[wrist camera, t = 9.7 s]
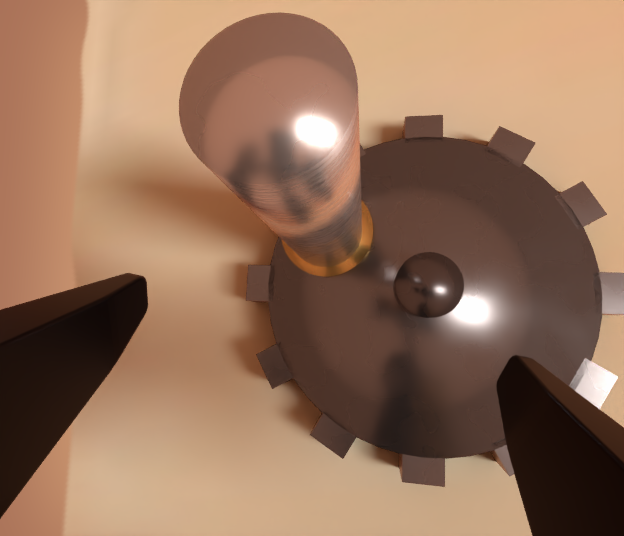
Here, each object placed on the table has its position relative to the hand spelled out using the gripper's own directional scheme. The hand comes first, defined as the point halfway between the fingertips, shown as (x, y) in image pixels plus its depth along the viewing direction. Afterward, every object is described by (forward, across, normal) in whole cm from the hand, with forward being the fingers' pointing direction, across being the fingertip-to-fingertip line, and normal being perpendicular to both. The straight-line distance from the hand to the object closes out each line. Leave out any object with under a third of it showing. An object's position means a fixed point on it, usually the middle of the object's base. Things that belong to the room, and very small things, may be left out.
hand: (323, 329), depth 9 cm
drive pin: (+10, 0, +1) cm, 10 cm away
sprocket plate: (+9, -5, +3) cm, 11 cm away
